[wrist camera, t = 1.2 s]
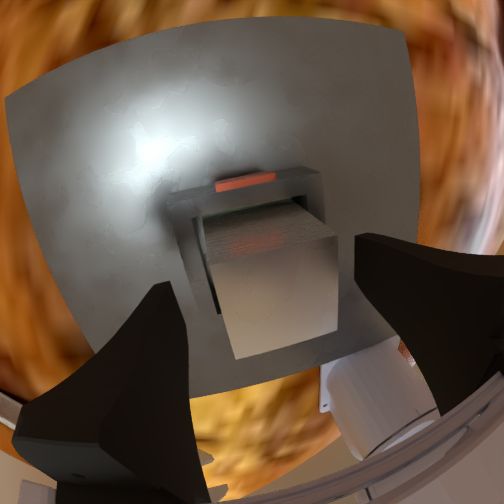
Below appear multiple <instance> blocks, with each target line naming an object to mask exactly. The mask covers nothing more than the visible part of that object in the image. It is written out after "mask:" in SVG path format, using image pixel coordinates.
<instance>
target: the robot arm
mask: <svg viewBox="0 0 504 504" xmlns="http://www.w3.org/2000/svg"><path fill="white" fill-rule="evenodd" d="M354 281H355V282H356V284H357V285H358V287H359V289H360V290H361V292H362V293H363V294H364V296H365V297H366V299H367V300H368V301H369V302H370V303H371V304H372V306H373V307H374V308H375V309H376V310H377V311H378V312H379V313H380V315H381V316H382V317H383V318H384V319H385V320H386V321H387V323H388V324H389V325H390V326H391V327H392V328H393V329H394V331H395V332H396V333H397V334H398V335H396V336H394V337H392V338H389V339H387V340H385V341H382V342H380V343H378V344H375V345H373V346H371V347H368V348H366V349H363V350H361V351H358V352H356V353H353V354H350V355H348V356H345V357H342V358H340V359H337V360H334V361H331V362H329V363H326V364H323V365H320V396H319V411H320V412H321V413H324V412H327V411H330V412H331V414H332V416H333V418H334V420H335V422H336V424H337V426H338V428H339V430H340V432H341V434H342V436H343V438H344V440H345V442H346V444H347V446H348V448H349V450H350V452H351V453H352V454H353V455H354V456H355V457H356V458H357V459H359V460H360V461H361V462H359V463H358V464H355V465H353V466H350V467H349V468H346V469H343V470H341V471H338V472H335V473H333V474H330V475H328V476H325V477H322V478H319V479H316V480H313V481H310V482H307V483H304V484H300V485H297V486H294V487H290V488H287V489H283V490H279V491H275V492H271V493H267V494H262V495H257V496H253V497H247V498H242V499H236V500H230V501H223V502H215V503H212V501H211V498H210V495H209V492H208V489H207V485H206V482H205V478H204V475H203V471H202V467H201V463H200V458H199V454H198V450H197V445H196V440H195V435H194V429H193V423H192V417H191V411H190V401H189V345H188V336H187V329H186V323H185V320H184V318H183V315H182V312H181V310H180V307H179V304H178V302H177V299H176V296H175V293H174V291H173V288H172V285H171V282H170V281H166V282H162V283H157V284H154V285H153V286H152V287H151V289H150V290H149V291H148V292H147V294H146V295H145V296H144V298H143V299H142V301H141V302H140V303H139V305H138V306H137V307H136V309H135V310H134V311H133V313H132V314H131V315H130V316H129V318H128V319H127V320H126V321H125V323H124V324H123V325H122V326H121V327H120V329H119V330H118V331H117V332H116V334H115V335H114V336H113V337H112V338H111V339H110V340H109V341H108V342H107V343H106V344H105V345H104V346H103V347H102V348H101V349H100V350H99V351H98V352H97V353H96V354H95V355H94V356H93V357H92V358H91V359H90V360H88V361H87V362H86V363H85V364H84V365H83V366H82V367H80V368H79V369H78V370H77V371H76V372H74V373H73V374H72V375H71V376H69V377H68V378H67V379H65V380H64V381H62V382H61V383H60V384H58V385H57V386H55V387H54V388H52V389H51V390H49V391H48V392H46V393H44V394H42V395H41V396H39V397H37V398H35V399H34V400H32V401H30V402H28V403H27V404H25V405H23V406H22V407H21V410H20V413H19V417H18V420H17V423H16V427H15V430H14V434H13V437H12V444H13V446H14V448H15V450H16V451H17V452H18V453H19V455H20V456H21V457H23V458H24V459H25V460H26V461H27V462H29V463H30V464H31V465H33V466H34V467H36V468H37V469H39V470H40V471H42V472H43V473H45V474H46V475H48V476H49V477H51V478H52V479H54V480H55V481H57V489H53V488H51V487H48V486H45V485H41V484H38V483H34V482H30V481H27V480H21V484H20V491H19V500H18V504H327V503H330V502H333V501H336V500H338V499H341V498H343V497H346V496H348V495H351V494H353V493H354V495H355V499H356V502H357V504H504V255H477V254H466V253H458V252H452V251H446V250H441V249H436V248H432V247H428V246H423V245H419V244H416V243H412V242H408V241H404V240H401V239H397V238H393V237H389V236H385V235H381V234H376V233H368V232H367V233H363V234H359V235H355V236H354ZM400 339H402V341H403V342H404V344H405V345H406V347H407V349H408V350H409V352H410V353H411V355H412V356H413V358H414V360H415V362H416V363H417V365H418V367H419V369H420V371H421V372H422V374H423V376H424V378H425V380H426V382H427V384H428V386H429V388H428V386H427V385H426V384H425V383H424V381H423V380H422V379H421V378H420V376H419V375H418V374H417V373H416V371H415V370H414V369H413V368H412V366H411V365H410V364H409V363H408V362H407V360H406V359H405V358H404V357H403V355H402V354H401V353H400V352H399V351H398V347H399V343H400ZM479 415H480V416H479Z"/></svg>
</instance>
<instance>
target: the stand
mask: <svg viewBox="0 0 504 504" xmlns="http://www.w3.org/2000/svg"><path fill="white" fill-rule="evenodd" d="M5 108H6V117H7V124H8V131H9V137H10V143H11V148H12V153H13V158H14V163H15V167H16V172H17V176H18V180H19V183H20V187H21V191H22V194H23V198H24V201H25V204H26V208H27V211H28V214H29V217H30V220H31V223H32V226H33V229H34V231H35V234H36V237H37V239H38V242H39V245H40V247H41V250H42V252H43V255H44V257H45V259H46V262H47V264H48V266H49V269H50V271H51V273H52V275H53V277H54V280H55V282H56V284H57V286H58V288H59V290H60V292H61V294H62V296H63V298H64V300H65V302H66V304H67V306H68V308H69V310H70V311H71V313H72V315H73V317H74V319H75V320H76V322H77V324H78V326H79V327H80V329H81V331H82V333H83V334H84V336H85V338H86V339H87V341H88V342H89V344H90V346H91V347H92V349H93V350H94V352H95V354H96V353H97V352H98V351H99V350H100V349H101V348H102V347H103V346H104V345H105V344H106V343H107V342H108V341H109V340H110V339H111V338H112V337H113V336H114V335H115V334H116V332H117V331H118V330H119V329H120V327H121V326H122V325H123V324H124V323H125V321H126V320H127V319H128V318H129V316H130V315H131V314H132V313H133V311H134V310H135V309H136V307H137V306H138V305H139V303H140V302H141V301H142V299H143V298H144V296H145V295H146V294H147V292H148V291H149V290H150V289H151V287H152V286H153V285H154V284H157V283H162V282H166V281H170V282H171V285H172V288H173V291H174V293H175V296H176V299H177V302H178V304H179V307H180V310H181V312H182V315H183V318H184V320H185V323H186V329H187V336H188V345H189V399H191V398H197V397H202V396H207V395H212V394H217V393H222V392H227V391H231V390H236V389H240V388H244V387H248V386H252V385H256V384H260V383H264V382H268V381H271V380H275V379H278V378H282V377H285V376H289V375H292V374H295V373H298V372H302V371H305V370H308V369H311V368H314V367H317V366H320V365H323V364H326V363H329V362H331V361H334V360H337V359H340V358H342V357H345V356H348V355H350V354H353V353H356V352H358V351H361V350H363V349H366V348H368V347H371V346H373V345H375V344H378V343H380V342H382V341H385V340H387V339H389V338H392V337H394V336H396V335H398V334H397V333H396V332H395V331H394V329H393V328H392V327H391V326H390V325H389V324H388V323H387V321H386V320H385V319H384V318H383V317H382V316H381V315H380V313H379V312H378V311H377V310H376V309H375V308H374V307H373V306H372V304H371V303H370V302H369V301H368V300H367V299H366V297H365V296H364V294H363V293H362V292H361V290H360V289H359V287H358V285H357V284H356V282H355V281H354V236H355V235H359V234H363V233H367V232H368V233H376V234H381V235H385V236H389V237H393V238H397V239H401V240H404V241H408V242H412V243H416V244H417V233H418V220H419V201H420V147H419V129H418V116H417V106H416V97H415V90H414V83H413V76H412V70H411V64H410V59H409V54H408V49H407V44H406V40H405V36H404V32H403V31H399V30H395V29H390V28H386V27H381V26H376V25H370V24H365V23H358V22H352V21H344V20H335V19H325V18H311V17H251V18H237V19H226V20H218V21H210V22H203V23H197V24H191V25H186V26H180V27H175V28H171V29H166V30H162V31H158V32H154V33H150V34H146V35H143V36H139V37H136V38H132V39H129V40H126V41H123V42H120V43H117V44H114V45H111V46H108V47H105V48H102V49H100V50H97V51H95V52H92V53H90V54H87V55H85V56H82V57H80V58H78V59H75V60H73V61H71V62H69V63H66V64H64V65H62V66H60V67H58V68H56V69H54V70H52V71H50V72H48V73H46V74H44V75H42V76H41V77H39V78H37V79H35V80H33V81H32V82H30V83H28V84H26V85H25V86H23V87H21V88H20V89H18V90H17V91H15V92H13V93H12V94H10V95H9V96H7V97H6V98H5ZM288 197H291V200H293V201H294V202H295V203H297V204H298V205H299V206H301V207H302V208H303V209H305V210H306V211H307V212H309V213H310V214H311V215H313V216H314V217H315V218H317V219H318V220H319V221H321V222H322V223H323V224H325V225H326V226H327V227H328V228H330V229H331V230H332V231H334V232H335V233H336V234H337V235H338V324H337V330H336V331H333V332H330V333H327V334H324V335H321V336H318V337H315V338H312V339H309V340H306V341H302V342H299V343H296V344H292V345H289V346H286V347H282V348H279V349H275V350H271V351H268V352H264V353H260V354H257V355H253V356H249V357H245V358H241V359H237V360H236V359H235V356H234V353H233V349H232V346H231V343H230V339H229V336H228V332H227V329H226V326H225V322H224V319H223V315H222V312H221V308H220V305H219V301H218V297H217V294H216V290H215V286H214V283H213V279H212V275H211V272H210V268H209V263H208V256H207V249H206V242H205V236H204V232H203V228H202V224H201V219H200V217H201V216H205V215H209V214H214V213H218V212H222V211H227V210H231V209H236V208H240V207H245V206H250V205H254V204H259V203H264V202H269V201H273V200H278V199H283V198H288Z"/></svg>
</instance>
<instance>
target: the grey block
mask: <svg viewBox="0 0 504 504" xmlns="http://www.w3.org/2000/svg"><path fill="white" fill-rule="evenodd" d="M200 219H201V224H202V228H203V232H204V236H205V242H206V249H207V256H208V263H209V268H210V272H211V275H212V279H213V283H214V286H215V290H216V294H217V297H218V301H219V305H220V308H221V312H222V315H223V319H224V322H225V326H226V329H227V332H228V336H229V339H230V343H231V346H232V349H233V353H234V356H235V359H236V360H237V359H241V358H245V357H249V356H253V355H257V354H260V353H264V352H268V351H271V350H275V349H279V348H282V347H286V346H289V345H292V344H296V343H299V342H302V341H306V340H309V339H312V338H315V337H318V336H321V335H324V334H327V333H330V332H333V331H336V330H337V324H338V235H337V234H336V233H335V232H334V231H332V230H331V229H330V228H328V227H327V226H326V225H325V224H323V223H322V222H321V221H319V220H318V219H317V218H315V217H314V216H313V215H311V214H310V213H309V212H307V211H306V210H305V209H303V208H302V207H301V206H299V205H298V204H297V203H295V202H294V201H293V200H291V197H288V198H283V199H278V200H273V201H269V202H264V203H259V204H254V205H250V206H245V207H240V208H236V209H231V210H227V211H222V212H218V213H214V214H209V215H205V216H201V217H200Z"/></svg>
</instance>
